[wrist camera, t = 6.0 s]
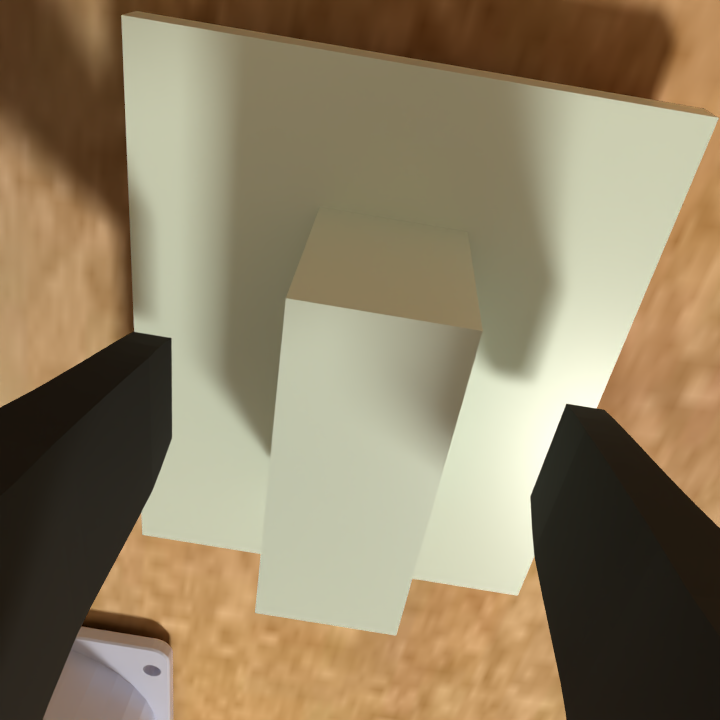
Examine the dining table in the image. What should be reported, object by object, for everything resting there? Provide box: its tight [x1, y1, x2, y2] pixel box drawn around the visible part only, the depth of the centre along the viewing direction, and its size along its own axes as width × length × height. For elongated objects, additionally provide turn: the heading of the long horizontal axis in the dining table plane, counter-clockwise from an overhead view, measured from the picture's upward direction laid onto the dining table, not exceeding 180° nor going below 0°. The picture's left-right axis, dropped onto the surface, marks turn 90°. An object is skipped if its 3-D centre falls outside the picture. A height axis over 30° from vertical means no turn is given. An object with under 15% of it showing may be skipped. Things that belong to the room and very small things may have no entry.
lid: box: [121, 11, 719, 635], centre depth 12 cm, size 11×9×5 cm
